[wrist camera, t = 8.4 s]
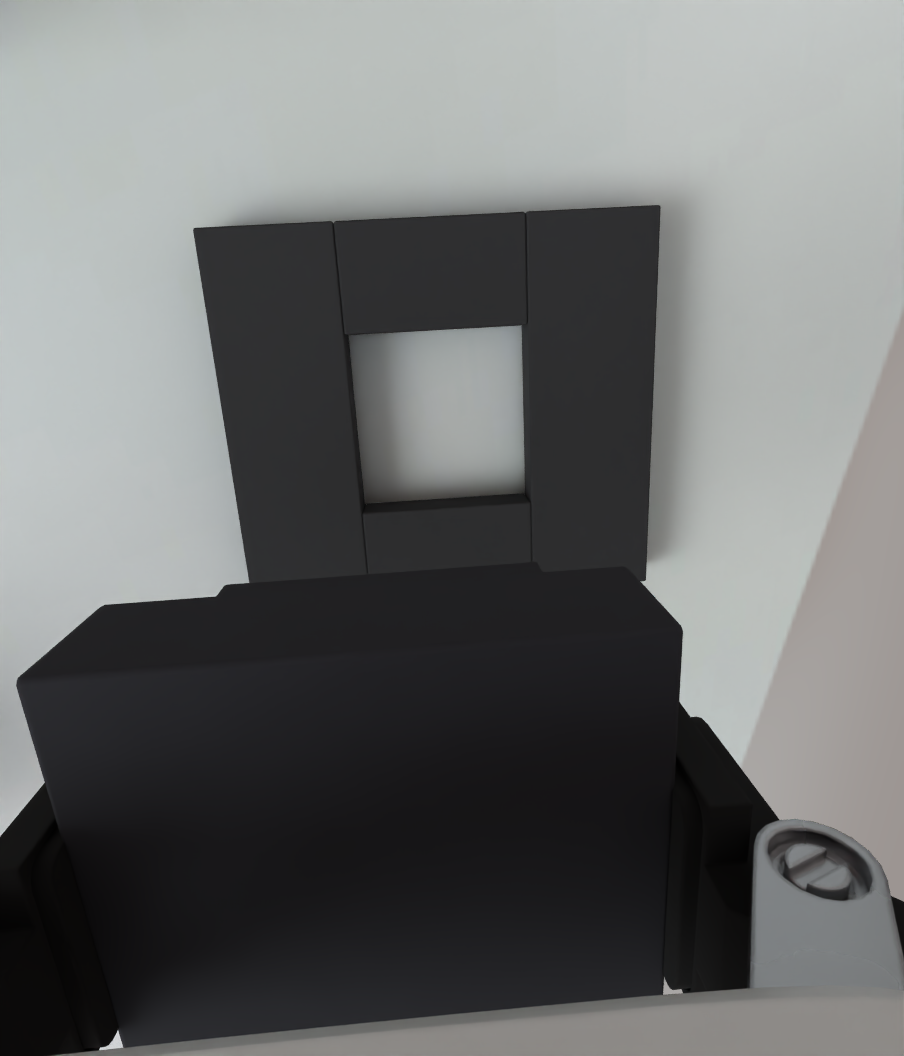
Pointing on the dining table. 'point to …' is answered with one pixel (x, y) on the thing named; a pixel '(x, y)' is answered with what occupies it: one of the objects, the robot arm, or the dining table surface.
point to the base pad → (420, 305)
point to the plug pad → (366, 796)
